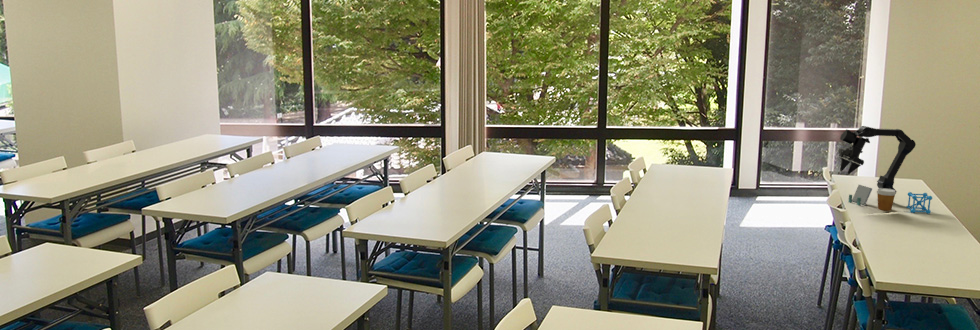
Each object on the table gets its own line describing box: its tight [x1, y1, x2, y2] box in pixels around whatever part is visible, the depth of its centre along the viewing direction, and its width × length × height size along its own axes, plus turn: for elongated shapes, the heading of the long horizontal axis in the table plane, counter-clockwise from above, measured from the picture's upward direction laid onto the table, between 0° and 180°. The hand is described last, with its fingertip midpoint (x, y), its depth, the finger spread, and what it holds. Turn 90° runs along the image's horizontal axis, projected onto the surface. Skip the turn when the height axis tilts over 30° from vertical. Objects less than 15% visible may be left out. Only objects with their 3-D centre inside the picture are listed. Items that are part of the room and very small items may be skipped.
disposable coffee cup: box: [876, 188, 897, 214], centre depth 425 cm, size 10×10×12 cm
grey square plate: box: [851, 184, 873, 206], centre depth 439 cm, size 1×10×11 cm, turn 15°
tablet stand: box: [847, 194, 869, 207], centre depth 440 cm, size 10×13×6 cm
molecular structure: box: [906, 191, 933, 215], centre depth 425 cm, size 10×10×10 cm
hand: (844, 172), depth 441 cm, fingers open, 9 cm apart
